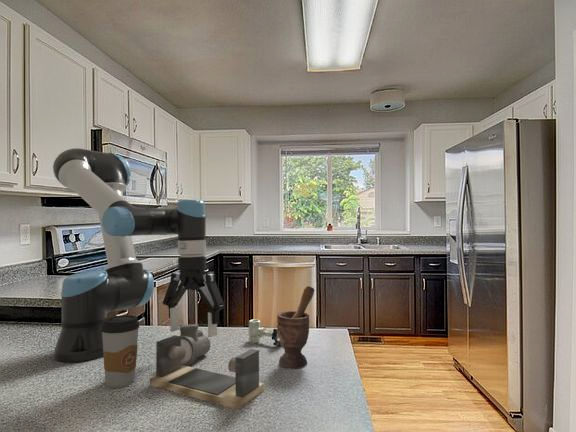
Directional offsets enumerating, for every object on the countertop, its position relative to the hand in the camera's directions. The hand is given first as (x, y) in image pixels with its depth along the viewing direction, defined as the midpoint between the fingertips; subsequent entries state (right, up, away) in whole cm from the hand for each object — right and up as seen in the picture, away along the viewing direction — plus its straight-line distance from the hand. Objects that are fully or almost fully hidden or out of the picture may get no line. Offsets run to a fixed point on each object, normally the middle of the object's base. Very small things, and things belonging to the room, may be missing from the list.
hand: (193, 333), depth 104 cm
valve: (+19, -8, +15) cm, 25 cm away
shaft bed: (+7, -7, -18) cm, 20 cm away
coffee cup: (-14, -7, -14) cm, 21 cm away
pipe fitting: (0, -8, 0) cm, 8 cm away
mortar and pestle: (+28, -8, -2) cm, 29 cm away
